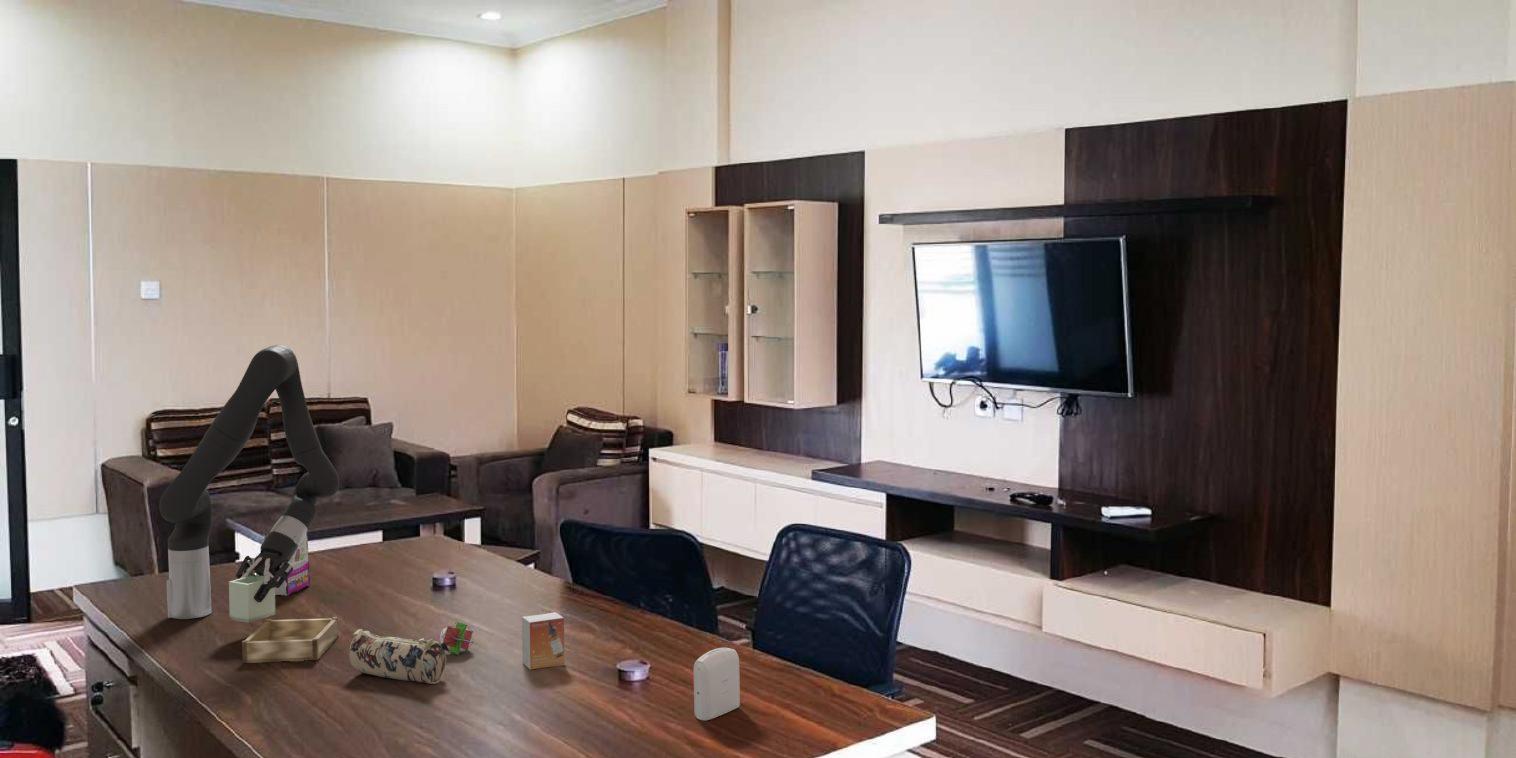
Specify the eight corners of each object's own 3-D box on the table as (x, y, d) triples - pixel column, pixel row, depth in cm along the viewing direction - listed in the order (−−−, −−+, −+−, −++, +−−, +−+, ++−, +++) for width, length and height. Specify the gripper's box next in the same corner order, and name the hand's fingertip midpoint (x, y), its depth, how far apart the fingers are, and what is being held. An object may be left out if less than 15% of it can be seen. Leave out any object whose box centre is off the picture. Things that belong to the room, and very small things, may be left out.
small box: (529, 670, 265) (528, 622, 264) (522, 663, 270) (520, 616, 269) (565, 665, 269) (564, 617, 268) (557, 658, 274) (556, 611, 273)
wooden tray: (242, 663, 272) (241, 641, 272) (268, 639, 290) (267, 619, 290) (317, 660, 273) (316, 639, 273) (338, 637, 291) (337, 616, 291)
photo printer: (707, 722, 233) (706, 658, 232) (690, 717, 236) (689, 654, 235) (743, 708, 241) (742, 645, 240) (726, 703, 244) (726, 641, 243)
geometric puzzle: (470, 634, 285) (450, 611, 281) (486, 640, 280) (467, 617, 276) (448, 658, 281) (428, 635, 277) (465, 665, 276) (444, 641, 272)
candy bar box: (294, 585, 341) (291, 526, 340) (310, 586, 340) (308, 526, 339) (270, 595, 330) (267, 534, 329) (287, 596, 329) (284, 535, 328)
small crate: (229, 619, 290) (228, 581, 289) (256, 611, 297) (255, 574, 297) (248, 622, 288) (247, 584, 287) (275, 614, 295) (274, 577, 294)
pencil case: (452, 678, 261) (450, 632, 260) (425, 690, 253) (423, 643, 252) (371, 665, 270) (370, 621, 269) (343, 676, 263) (341, 631, 262)
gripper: (253, 527, 301) (214, 586, 291) (298, 533, 295) (260, 594, 285) (271, 544, 306) (233, 603, 296) (315, 550, 300) (278, 611, 290)
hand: (246, 598), depth 291 cm, fingers closed on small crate, 6 cm apart
